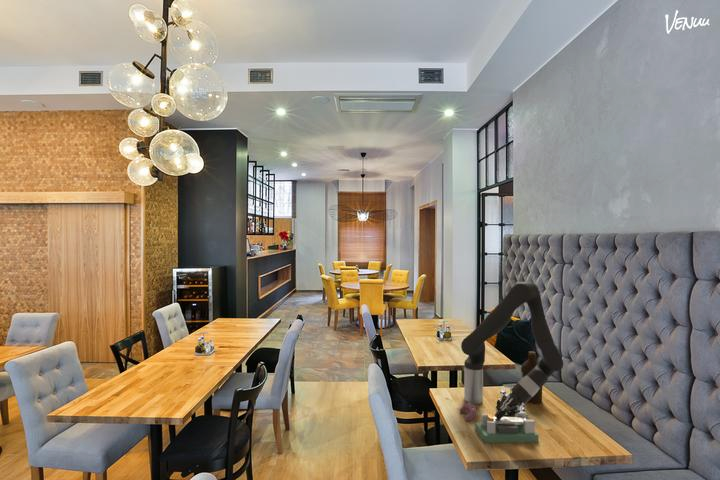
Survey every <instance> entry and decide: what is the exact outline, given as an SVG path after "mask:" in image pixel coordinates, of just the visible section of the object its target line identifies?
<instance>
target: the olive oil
mask: <svg viewBox="0 0 720 480" xmlns="http://www.w3.org/2000/svg"><path fill="white" fill-rule="evenodd" d="M538 362H539V361H537V357H536V351H533V350H530V351H528V359H527V360H525V361H524V362H523V363H522V364H521V367H520V376H521V377H520V378H521V379H522V378H523V377H525V376H526V375H527V374H528V373H529V372H530V371H531V370H532V369H534V368H535V366H536V365H537V364H538ZM521 379H520V380H521ZM542 402H543V386H542V387H541V388H540V389H539V390H538V392H537V393H536V394H535V395H534V396H533V397H532V398H531V399H530V400H529V401H528V402H527V403H530V404H540V403H542Z"/></svg>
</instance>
